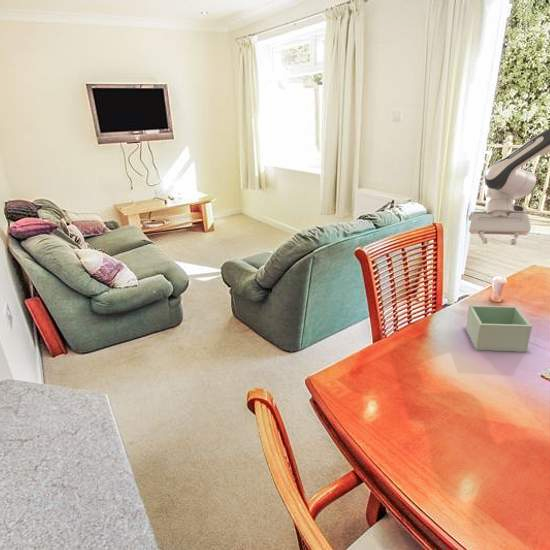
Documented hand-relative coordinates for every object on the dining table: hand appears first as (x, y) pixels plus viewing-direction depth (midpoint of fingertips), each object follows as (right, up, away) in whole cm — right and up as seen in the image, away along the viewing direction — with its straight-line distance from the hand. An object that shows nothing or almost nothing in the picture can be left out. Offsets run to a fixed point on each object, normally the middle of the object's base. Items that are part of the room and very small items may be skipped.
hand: (498, 243), depth 140 cm
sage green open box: (-16, -32, -25) cm, 43 cm away
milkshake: (-3, -21, -3) cm, 22 cm away
